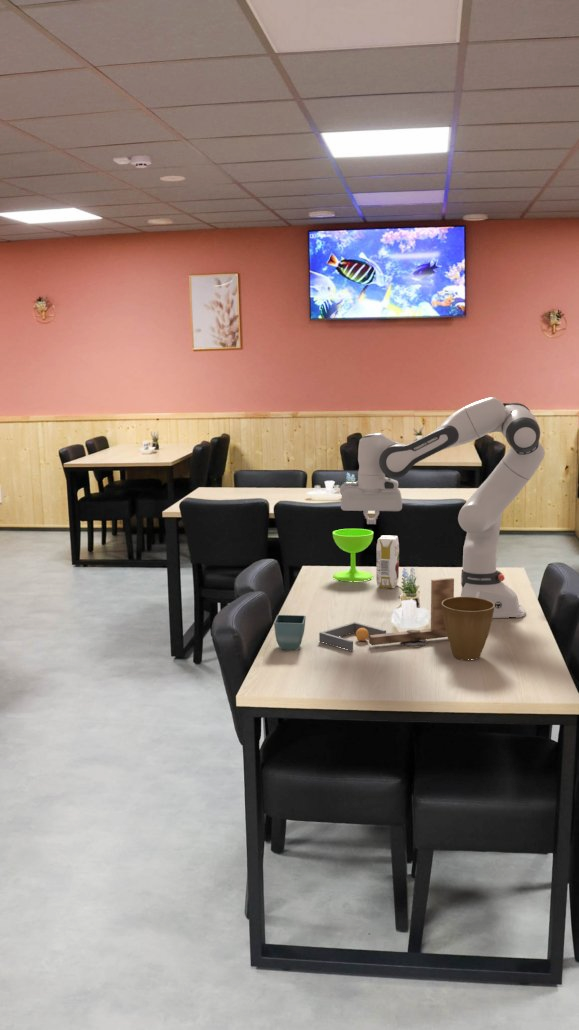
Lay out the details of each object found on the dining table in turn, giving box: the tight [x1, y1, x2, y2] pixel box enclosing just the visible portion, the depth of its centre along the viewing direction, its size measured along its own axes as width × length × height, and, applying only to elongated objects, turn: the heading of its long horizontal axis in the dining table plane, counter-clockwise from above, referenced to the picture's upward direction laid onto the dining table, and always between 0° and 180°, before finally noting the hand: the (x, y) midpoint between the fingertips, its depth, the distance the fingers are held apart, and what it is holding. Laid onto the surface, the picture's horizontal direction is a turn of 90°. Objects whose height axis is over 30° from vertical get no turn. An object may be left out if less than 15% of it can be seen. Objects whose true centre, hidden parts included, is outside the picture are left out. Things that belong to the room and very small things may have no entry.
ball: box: [355, 628, 369, 642], centre depth 285 cm, size 4×4×4 cm
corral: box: [318, 621, 387, 651], centre depth 285 cm, size 13×16×3 cm
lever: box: [368, 577, 455, 646], centre depth 281 cm, size 27×4×18 cm, turn 107°
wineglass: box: [332, 528, 374, 583], centre depth 364 cm, size 16×16×18 cm
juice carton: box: [375, 534, 400, 589], centre depth 349 cm, size 8×9×19 cm
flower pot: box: [273, 614, 307, 650], centre depth 278 cm, size 9×9×9 cm
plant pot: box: [442, 596, 495, 661], centre depth 267 cm, size 15×15×16 cm
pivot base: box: [399, 639, 428, 647], centre depth 282 cm, size 8×8×1 cm
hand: (371, 523), depth 308 cm, fingers closed
